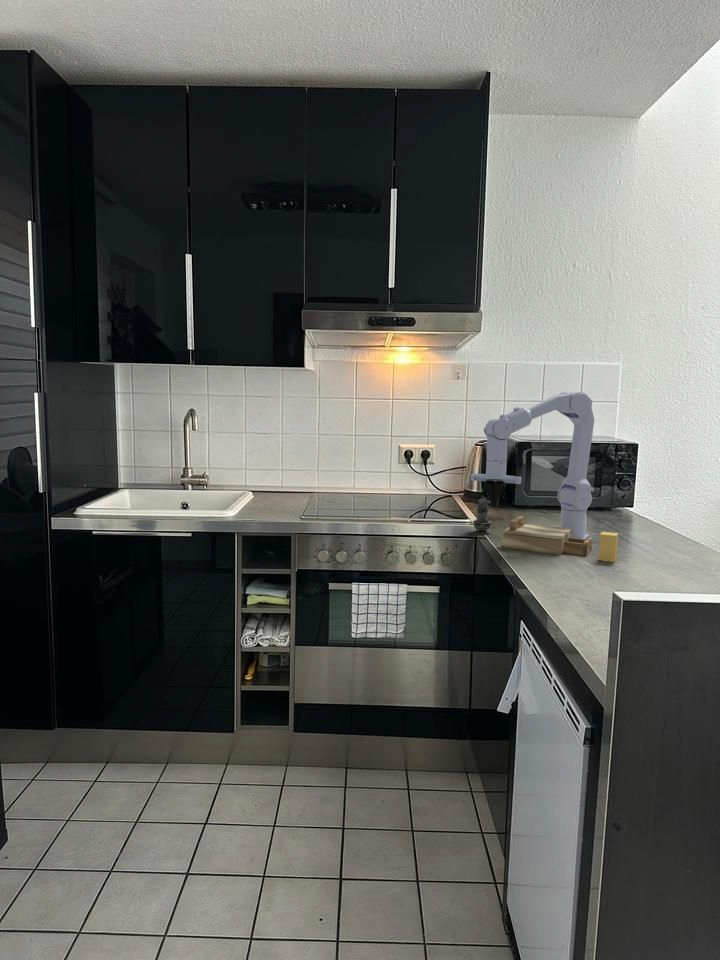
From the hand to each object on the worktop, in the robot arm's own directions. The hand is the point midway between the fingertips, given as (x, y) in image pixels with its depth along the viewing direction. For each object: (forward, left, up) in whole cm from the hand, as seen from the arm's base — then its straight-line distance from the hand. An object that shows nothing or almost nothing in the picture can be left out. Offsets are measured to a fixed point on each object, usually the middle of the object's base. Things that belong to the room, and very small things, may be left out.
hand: (494, 506), depth 191 cm
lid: (0, +13, -6) cm, 14 cm away
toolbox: (0, +16, -10) cm, 19 cm away
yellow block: (+5, +33, -10) cm, 35 cm away
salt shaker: (-11, -7, -11) cm, 17 cm away
